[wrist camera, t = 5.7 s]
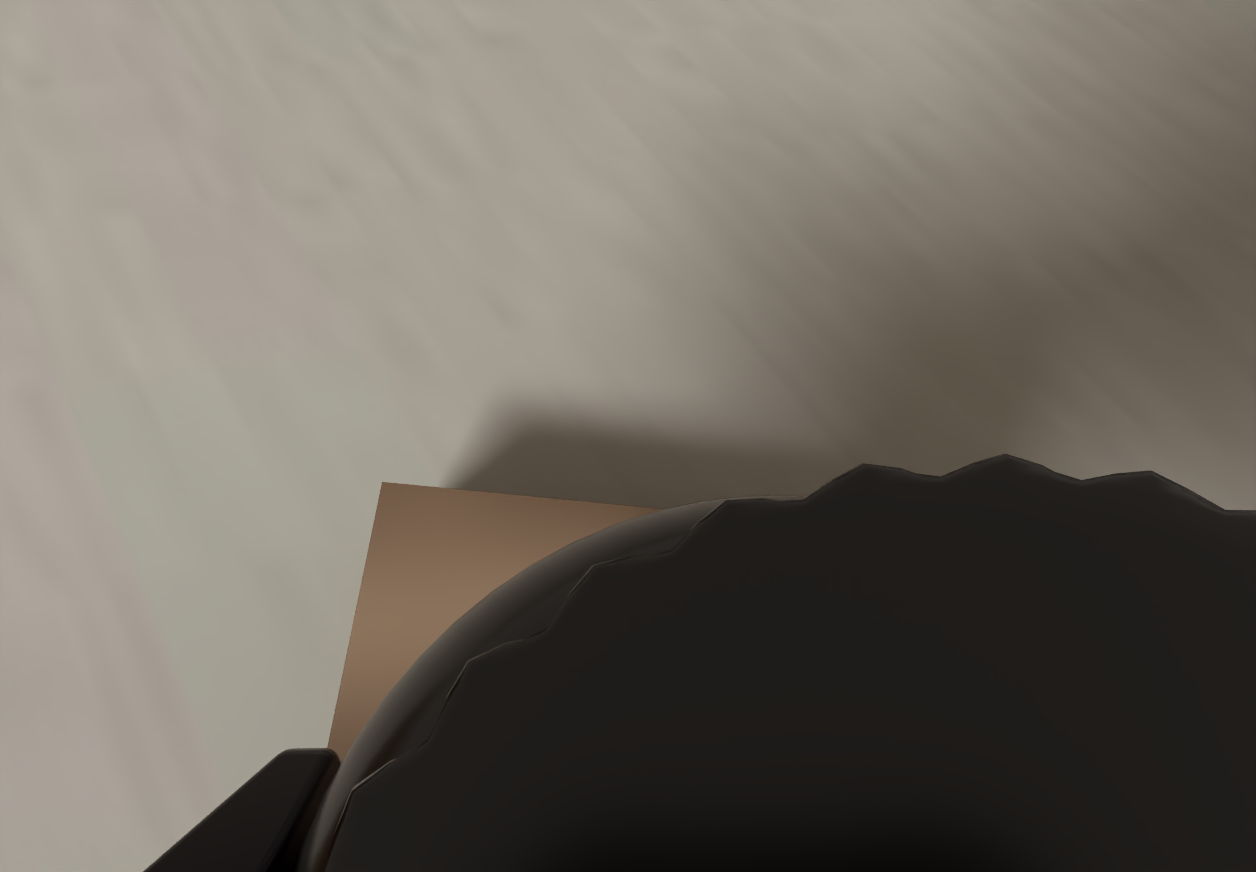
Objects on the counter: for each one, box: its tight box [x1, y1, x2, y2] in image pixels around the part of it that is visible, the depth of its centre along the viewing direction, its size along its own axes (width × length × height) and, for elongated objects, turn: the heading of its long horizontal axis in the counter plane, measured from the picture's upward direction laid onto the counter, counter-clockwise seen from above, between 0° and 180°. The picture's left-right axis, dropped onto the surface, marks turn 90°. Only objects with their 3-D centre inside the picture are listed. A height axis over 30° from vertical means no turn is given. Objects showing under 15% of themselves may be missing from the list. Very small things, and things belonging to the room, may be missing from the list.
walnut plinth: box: [327, 482, 664, 763], centre depth 16 cm, size 12×12×3 cm
